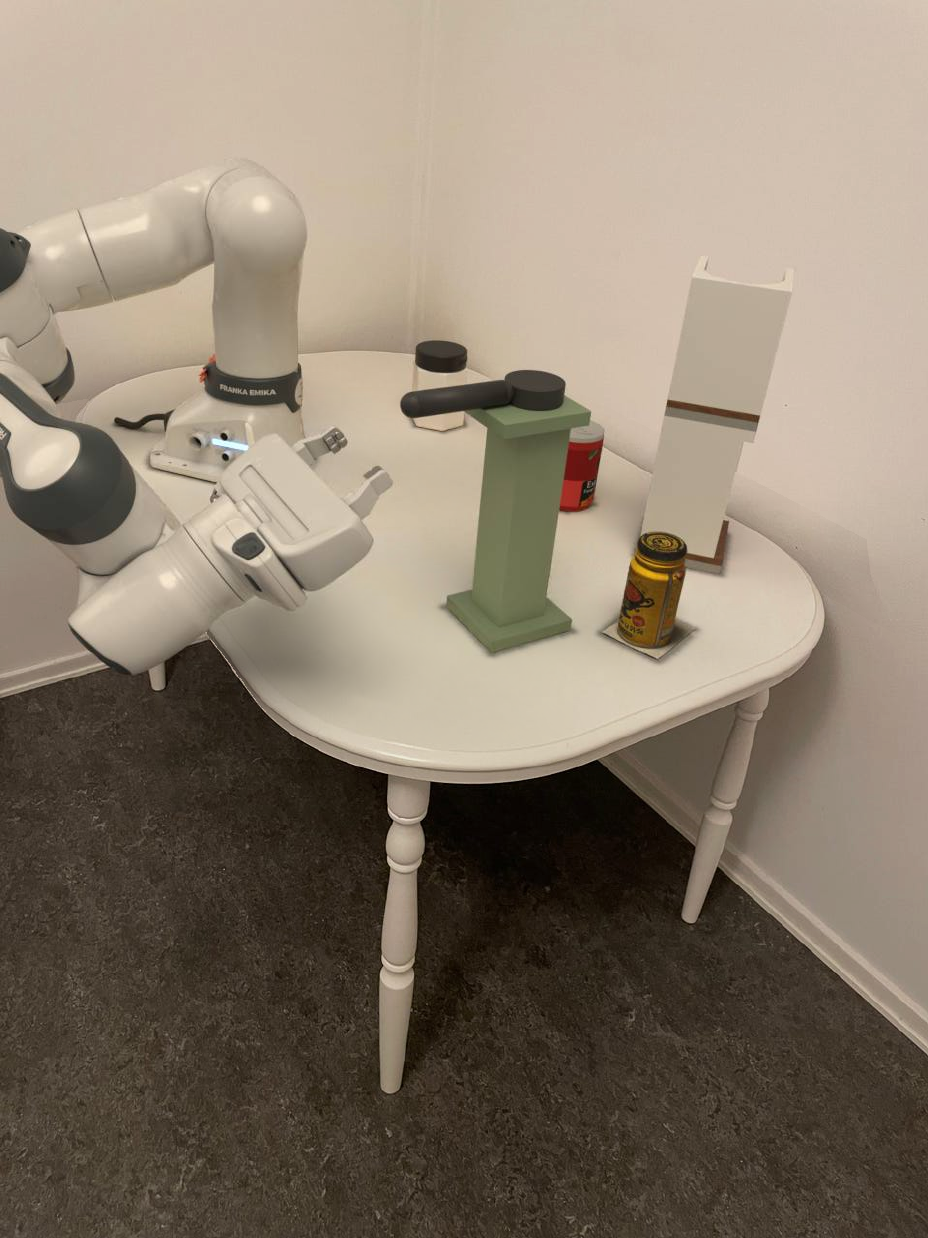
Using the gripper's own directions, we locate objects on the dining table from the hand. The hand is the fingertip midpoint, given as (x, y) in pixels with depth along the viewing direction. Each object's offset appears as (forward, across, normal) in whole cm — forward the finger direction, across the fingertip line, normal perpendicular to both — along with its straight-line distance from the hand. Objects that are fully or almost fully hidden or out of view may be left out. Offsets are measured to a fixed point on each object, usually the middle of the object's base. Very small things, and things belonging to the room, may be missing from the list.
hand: (363, 452), depth 88 cm
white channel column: (+31, -5, -45) cm, 55 cm away
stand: (+3, 0, -29) cm, 29 cm away
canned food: (+25, -22, -41) cm, 53 cm away
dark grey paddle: (+12, 0, -4) cm, 13 cm away
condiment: (+16, +9, -36) cm, 41 cm away
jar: (+22, -54, -40) cm, 71 cm away
